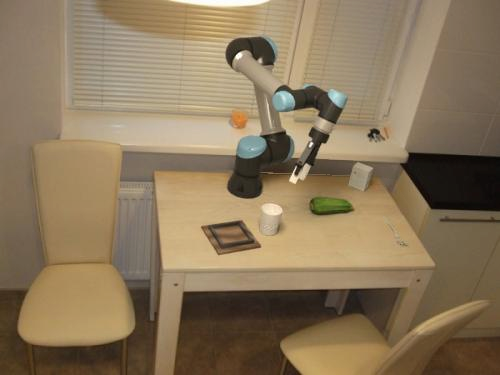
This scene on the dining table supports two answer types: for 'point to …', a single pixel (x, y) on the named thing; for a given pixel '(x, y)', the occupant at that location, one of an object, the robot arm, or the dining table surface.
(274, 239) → the dining table surface
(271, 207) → the white cup
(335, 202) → the vegetable
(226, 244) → the dock board
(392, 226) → the fork
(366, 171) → the small box
